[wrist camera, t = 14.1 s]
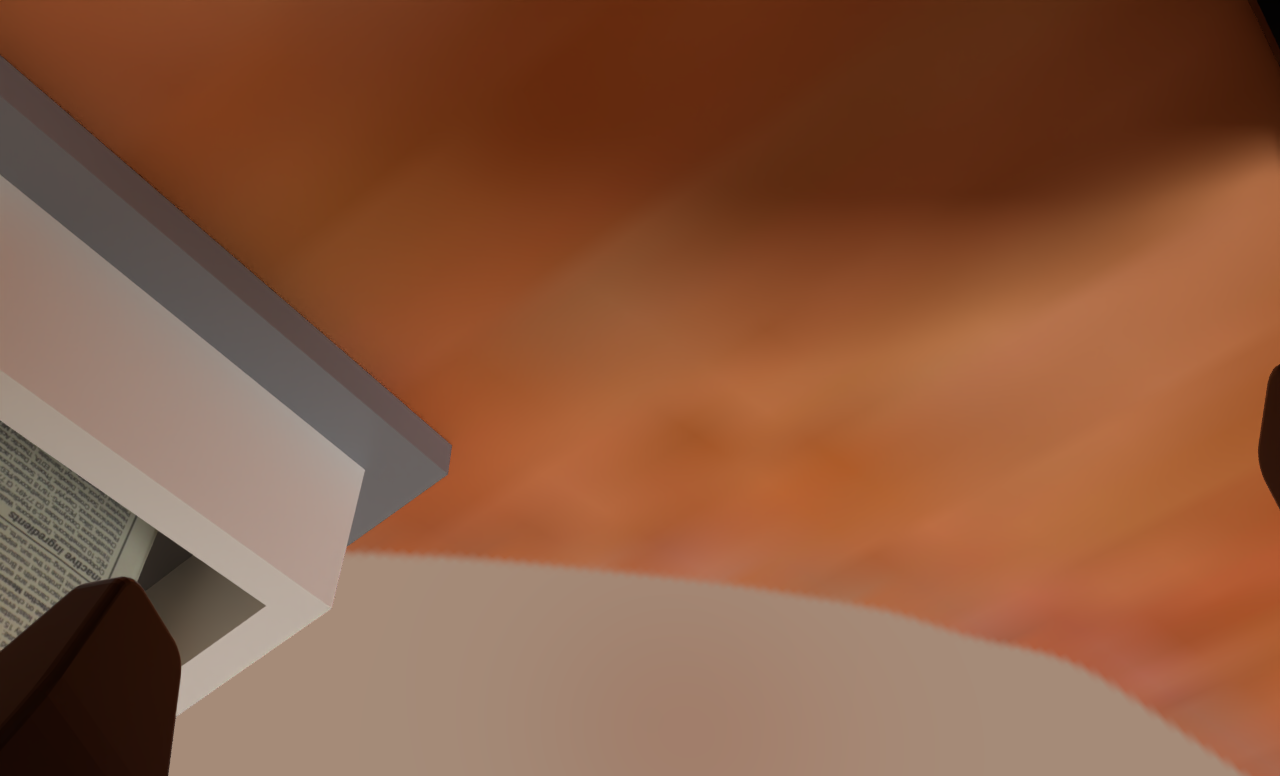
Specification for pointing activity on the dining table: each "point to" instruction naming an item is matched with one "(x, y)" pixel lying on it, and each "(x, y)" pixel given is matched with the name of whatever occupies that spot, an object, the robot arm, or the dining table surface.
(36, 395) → the holder
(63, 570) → the skincare box
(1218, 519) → the dining table surface
